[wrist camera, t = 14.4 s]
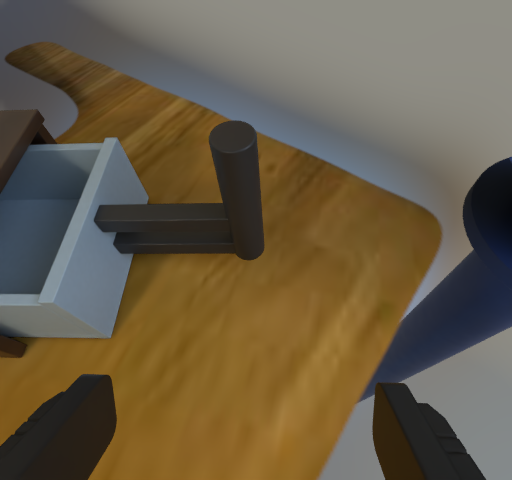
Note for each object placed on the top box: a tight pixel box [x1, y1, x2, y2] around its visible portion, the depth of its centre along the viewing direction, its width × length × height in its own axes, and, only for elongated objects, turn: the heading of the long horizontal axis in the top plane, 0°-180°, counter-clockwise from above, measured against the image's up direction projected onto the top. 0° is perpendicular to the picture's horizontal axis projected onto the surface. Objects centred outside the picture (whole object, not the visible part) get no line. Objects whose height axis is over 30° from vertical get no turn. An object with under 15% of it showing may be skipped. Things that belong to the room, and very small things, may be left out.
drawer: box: [0, 121, 264, 338], centre depth 18 cm, size 23×11×10 cm, turn 88°
